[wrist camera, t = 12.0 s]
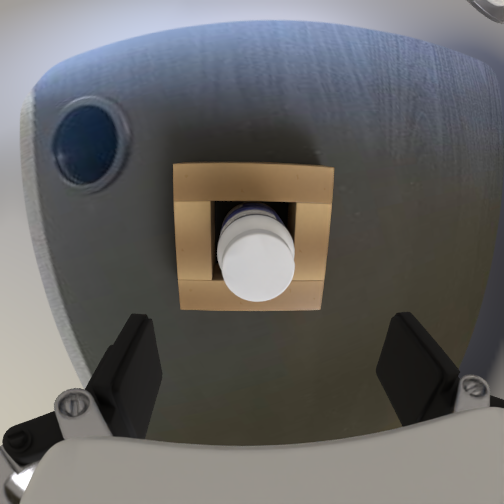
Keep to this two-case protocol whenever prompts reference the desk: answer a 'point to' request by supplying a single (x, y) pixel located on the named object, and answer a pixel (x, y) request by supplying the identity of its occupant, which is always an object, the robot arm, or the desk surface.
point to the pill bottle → (255, 252)
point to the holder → (250, 189)
